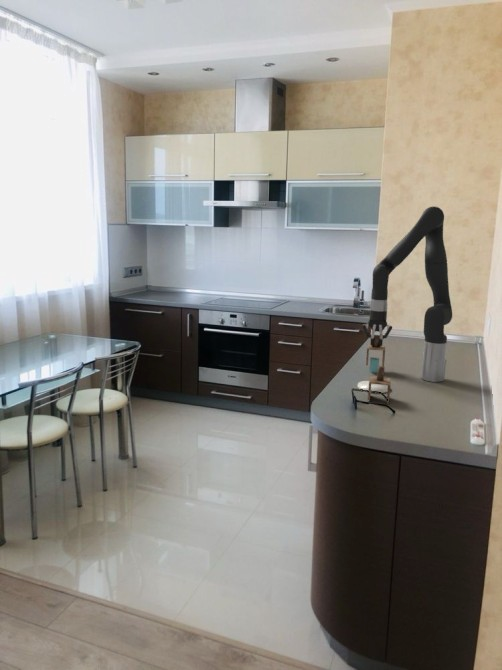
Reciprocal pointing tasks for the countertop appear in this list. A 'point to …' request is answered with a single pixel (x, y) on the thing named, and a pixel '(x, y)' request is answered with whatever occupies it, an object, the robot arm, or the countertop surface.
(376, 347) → the brown forked piece
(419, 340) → the countertop surface
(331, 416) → the countertop surface
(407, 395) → the countertop surface
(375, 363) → the block
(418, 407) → the countertop surface
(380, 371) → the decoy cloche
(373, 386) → the saucer
